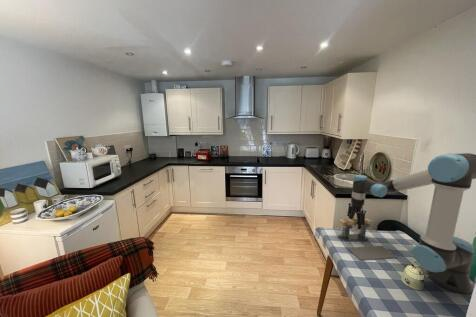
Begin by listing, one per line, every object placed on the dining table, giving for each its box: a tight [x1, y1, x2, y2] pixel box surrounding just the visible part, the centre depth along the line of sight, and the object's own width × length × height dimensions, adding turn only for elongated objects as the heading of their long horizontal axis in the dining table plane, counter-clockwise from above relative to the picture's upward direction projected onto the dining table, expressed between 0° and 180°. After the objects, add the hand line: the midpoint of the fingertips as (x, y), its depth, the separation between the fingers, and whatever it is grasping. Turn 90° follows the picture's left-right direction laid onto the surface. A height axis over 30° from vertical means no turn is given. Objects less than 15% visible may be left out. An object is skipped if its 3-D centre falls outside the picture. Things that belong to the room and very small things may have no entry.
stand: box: [338, 225, 369, 242], centre depth 133 cm, size 17×6×11 cm, turn 96°
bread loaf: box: [338, 217, 372, 229], centre depth 132 cm, size 20×4×4 cm, turn 96°
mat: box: [346, 245, 399, 261], centre depth 118 cm, size 24×11×1 cm, turn 96°
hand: (354, 230), depth 133 cm, fingers open, 6 cm apart
